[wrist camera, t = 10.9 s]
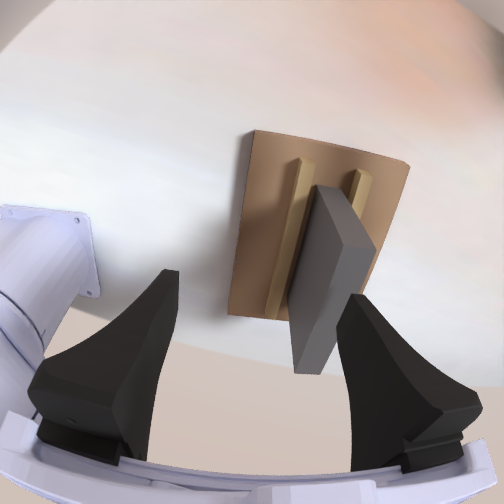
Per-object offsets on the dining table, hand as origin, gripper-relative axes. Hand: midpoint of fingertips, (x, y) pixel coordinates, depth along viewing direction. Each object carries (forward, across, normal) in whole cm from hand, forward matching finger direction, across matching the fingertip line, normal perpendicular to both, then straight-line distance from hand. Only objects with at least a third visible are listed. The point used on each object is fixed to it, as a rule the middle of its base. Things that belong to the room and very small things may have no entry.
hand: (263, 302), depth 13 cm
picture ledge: (+9, -4, +2) cm, 10 cm away
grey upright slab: (+8, -4, +2) cm, 9 cm away
